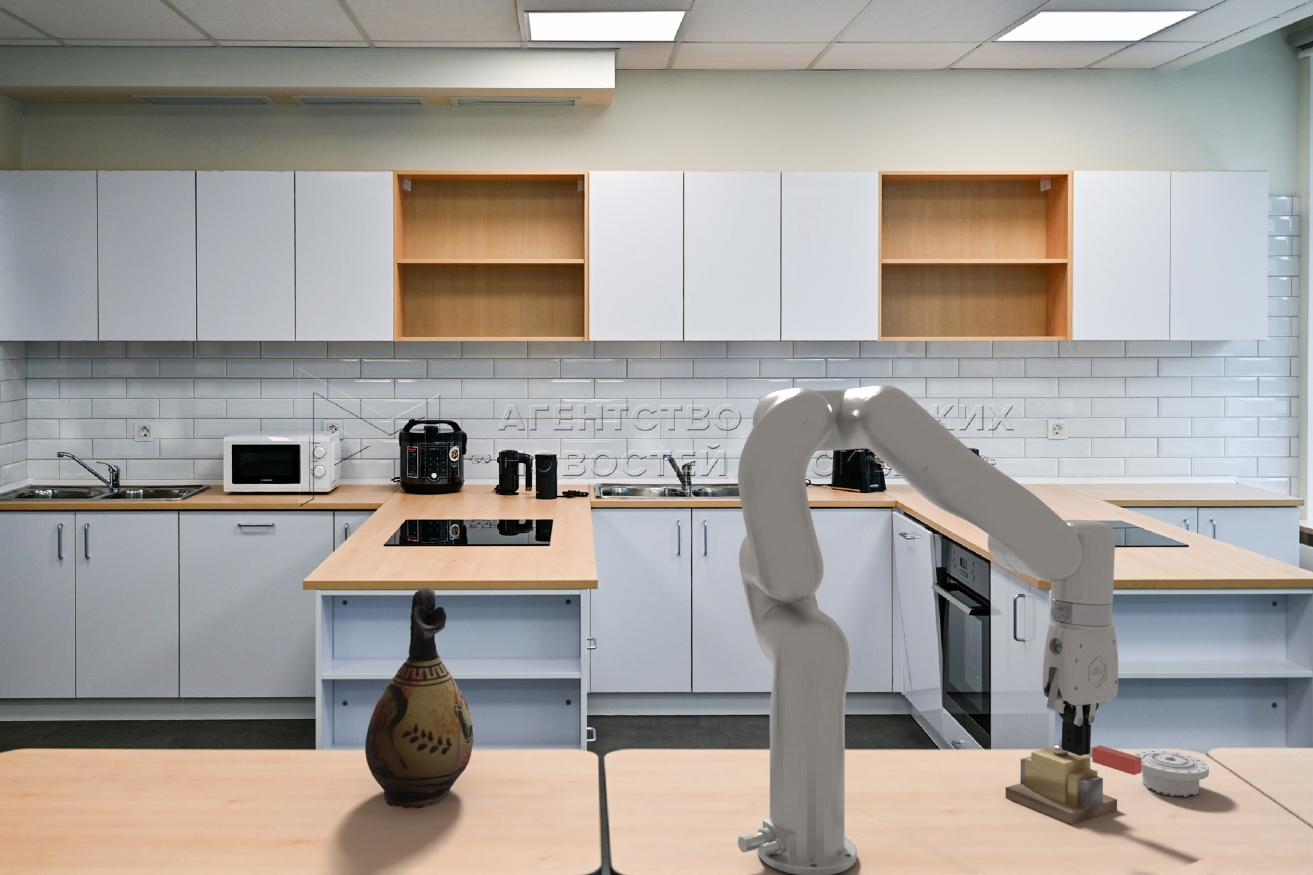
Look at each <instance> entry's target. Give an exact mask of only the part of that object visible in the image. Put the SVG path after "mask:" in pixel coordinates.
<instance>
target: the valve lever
mask: <svg viewBox="0 0 1313 875" xmlns="http://www.w3.org/2000/svg"><path fill="white" fill-rule="evenodd" d="M1061 744H1062V738H1061V739H1058V743H1055V744H1053V746H1052V747H1053V753H1054V754H1057V755H1068V751H1065V750H1063V749H1062V747H1061ZM1084 755H1085V754H1084ZM1086 756H1089V757H1090V758H1092V759H1091V761H1092V763H1094V764H1097V765H1101V766H1104V767H1107V768H1110V769H1113V770H1117V771H1120V772H1122V773H1125V774H1129V775H1133V776H1136V775H1139V774H1142V773H1143V772H1142V758H1141V757H1138V756H1134V754H1131V753H1127V752H1124V751H1122V750H1118V749H1115V748H1111V747H1107V746H1104V745H1097V746H1093V747H1091V746H1090V754H1087V755H1086Z"/></svg>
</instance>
